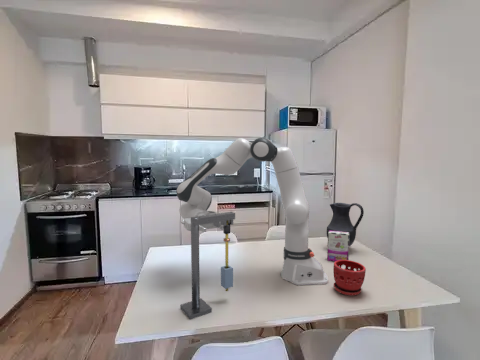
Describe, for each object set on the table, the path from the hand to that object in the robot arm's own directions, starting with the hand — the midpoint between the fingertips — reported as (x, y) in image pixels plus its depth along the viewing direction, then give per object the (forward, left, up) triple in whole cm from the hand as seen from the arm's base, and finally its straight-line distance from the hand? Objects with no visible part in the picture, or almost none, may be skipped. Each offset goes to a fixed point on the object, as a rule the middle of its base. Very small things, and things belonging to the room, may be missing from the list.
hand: (214, 229), depth 129 cm
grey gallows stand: (-1, +15, -27) cm, 31 cm away
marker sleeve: (-7, +10, -21) cm, 24 cm away
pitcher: (-69, -56, -27) cm, 93 cm away
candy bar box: (-62, -39, -27) cm, 78 cm away
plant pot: (-59, -4, -27) cm, 65 cm away
